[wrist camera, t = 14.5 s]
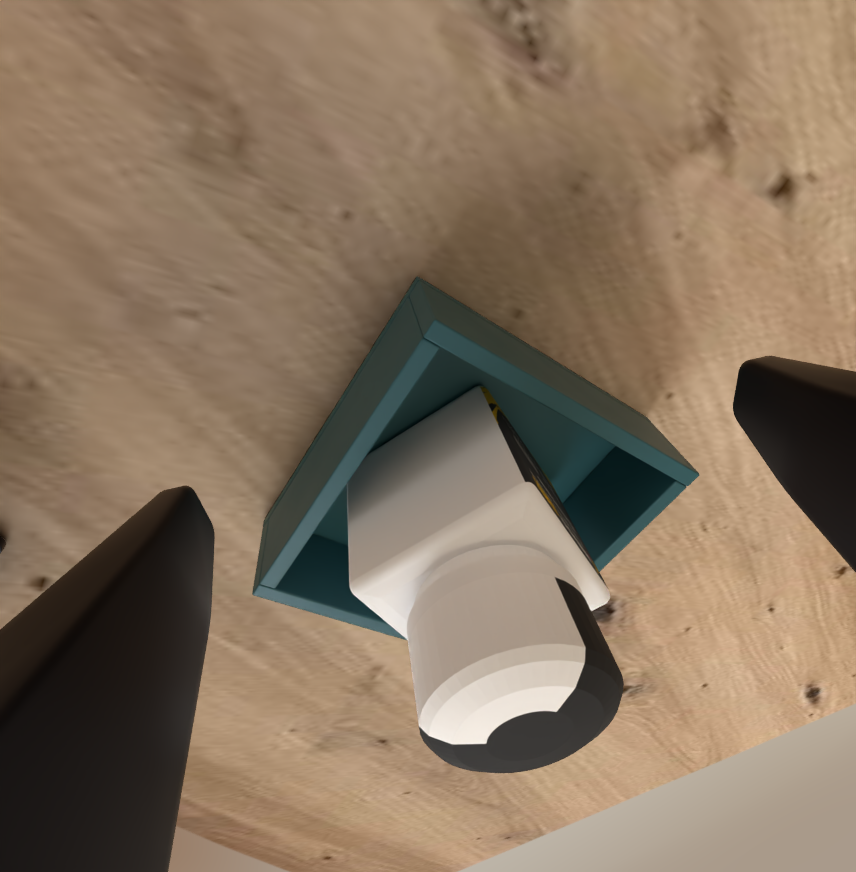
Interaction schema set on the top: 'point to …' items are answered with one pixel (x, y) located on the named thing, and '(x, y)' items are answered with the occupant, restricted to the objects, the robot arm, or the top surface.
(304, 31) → the top surface
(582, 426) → the desk bin
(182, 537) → the robot arm
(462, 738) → the medicine bottle
